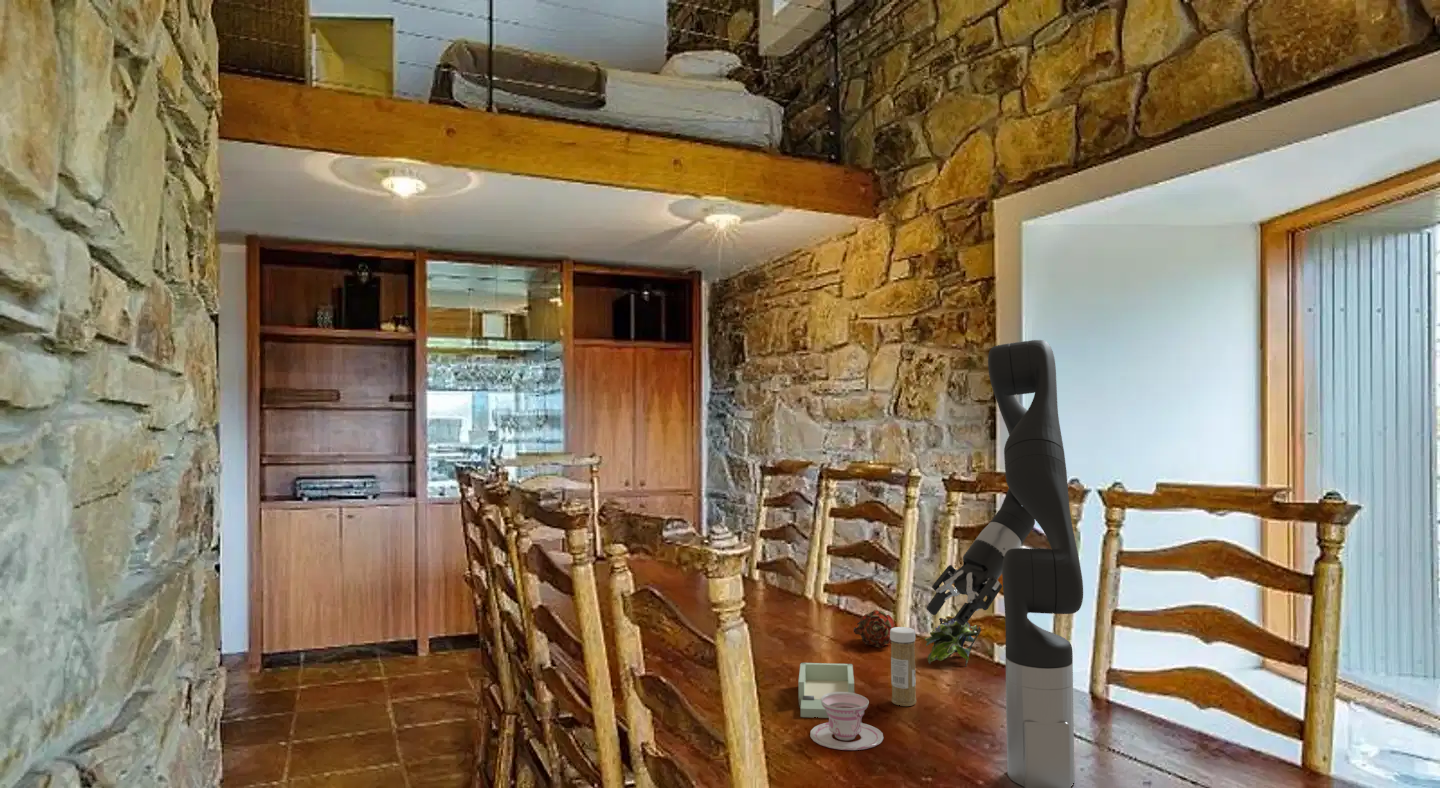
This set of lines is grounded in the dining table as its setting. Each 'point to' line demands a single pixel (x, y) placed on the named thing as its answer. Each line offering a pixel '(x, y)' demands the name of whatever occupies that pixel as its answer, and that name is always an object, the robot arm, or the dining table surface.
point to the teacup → (845, 723)
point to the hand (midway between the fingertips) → (944, 617)
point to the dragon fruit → (875, 628)
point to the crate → (822, 685)
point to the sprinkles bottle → (903, 666)
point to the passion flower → (951, 639)
